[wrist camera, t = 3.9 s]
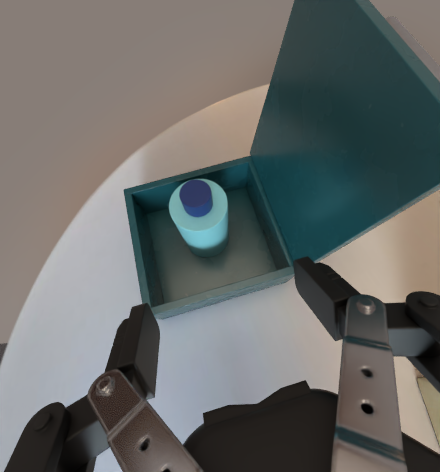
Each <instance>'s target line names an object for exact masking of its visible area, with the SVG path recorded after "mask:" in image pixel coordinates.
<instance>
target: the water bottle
mask: <svg viewBox="0 0 440 472" xmlns="http://www.w3.org/2000/svg"><path fill="white" fill-rule="evenodd" d="M169 212H170V215H171V217H172V219H173V221H174V223H175V225H176V226H177V228H178V230H179V232H180V234H181V235H182V237H183V239H184V241H185V243H186V244H187V246H188V248H189V249H190V250H191V252H193V253H194V254H196V255H198V256H200V257H212V256H215V255H217V254H219V253H221V252H222V251H223V250H224V248H225V247H226V245H227V243H228V239H229V227H228V200H227V196H226V194H225V192H224V190H223V189H222V188H221V187H220V186H219V185H218V184H216V183H215V182H213V181H210V180H207V179H193V180H189V181H187V182H185V183H183V184H181V185H180V186H179V187H178V188H177V189H176V190H175V191H174V192H173V194H172V196H171V198H170V202H169Z"/></svg>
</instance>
